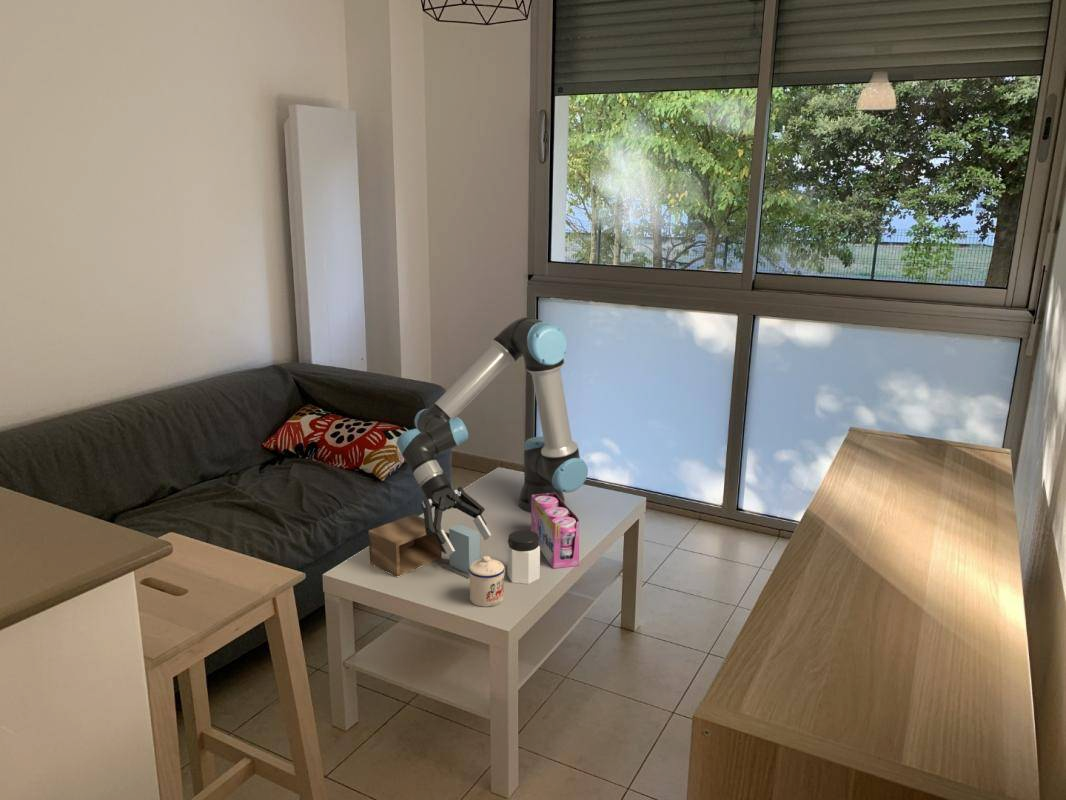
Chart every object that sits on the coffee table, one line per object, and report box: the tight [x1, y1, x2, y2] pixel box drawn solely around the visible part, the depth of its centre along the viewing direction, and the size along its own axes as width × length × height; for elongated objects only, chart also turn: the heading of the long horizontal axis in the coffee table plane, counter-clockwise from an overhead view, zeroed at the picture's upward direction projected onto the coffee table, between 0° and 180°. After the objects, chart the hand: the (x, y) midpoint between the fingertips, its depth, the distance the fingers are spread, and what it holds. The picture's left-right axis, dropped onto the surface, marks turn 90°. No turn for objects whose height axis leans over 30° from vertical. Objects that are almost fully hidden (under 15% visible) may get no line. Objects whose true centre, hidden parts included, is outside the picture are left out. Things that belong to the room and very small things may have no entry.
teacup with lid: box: [469, 555, 506, 608], centre depth 210 cm, size 12×9×12 cm
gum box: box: [530, 493, 580, 569], centre depth 237 cm, size 24×8×14 cm, turn 16°
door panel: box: [448, 523, 481, 574], centre depth 226 cm, size 8×4×11 cm, turn 47°
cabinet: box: [368, 513, 470, 579], centre depth 227 cm, size 20×26×10 cm
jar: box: [506, 529, 541, 585], centre depth 221 cm, size 9×8×12 cm
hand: (470, 545), depth 224 cm, fingers open, 13 cm apart
